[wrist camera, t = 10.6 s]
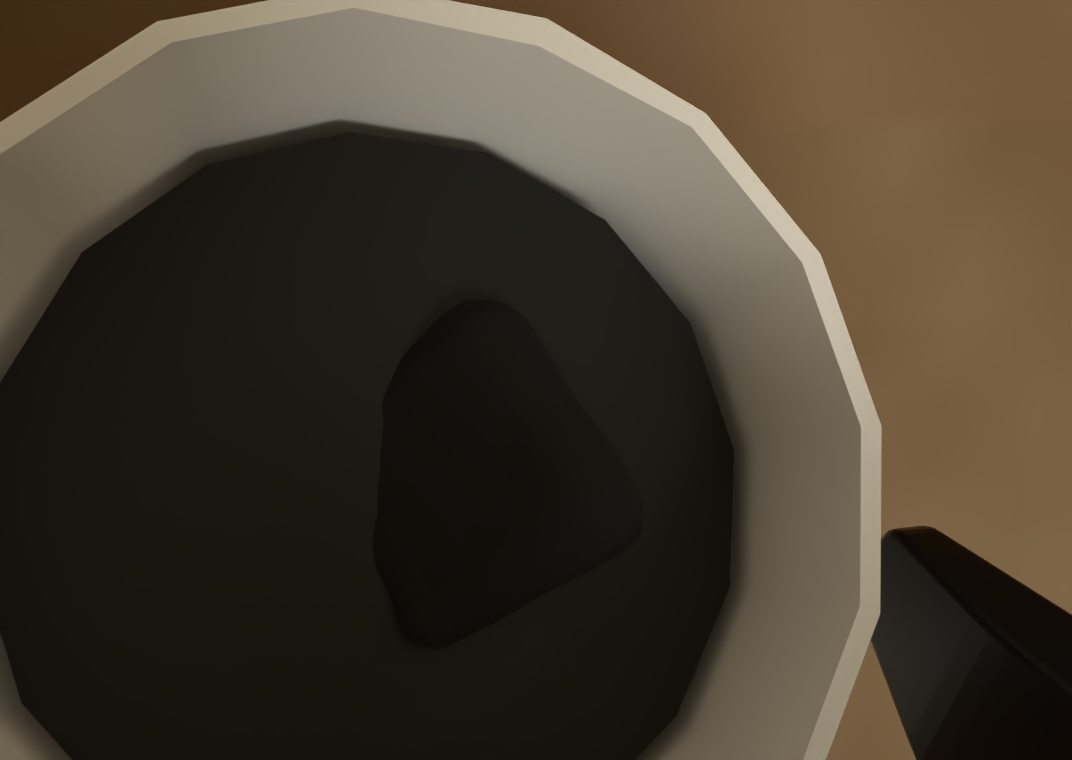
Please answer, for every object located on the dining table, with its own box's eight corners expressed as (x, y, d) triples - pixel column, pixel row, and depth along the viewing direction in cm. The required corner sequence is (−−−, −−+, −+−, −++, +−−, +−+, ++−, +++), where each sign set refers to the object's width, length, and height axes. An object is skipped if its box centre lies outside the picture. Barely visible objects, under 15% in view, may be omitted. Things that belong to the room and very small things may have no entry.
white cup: (413, 233, 17) (594, -150, 7) (610, 586, 17) (1048, 659, 7) (17, 428, 15) (-430, 251, 6) (238, 824, 15) (178, 1339, 5)
